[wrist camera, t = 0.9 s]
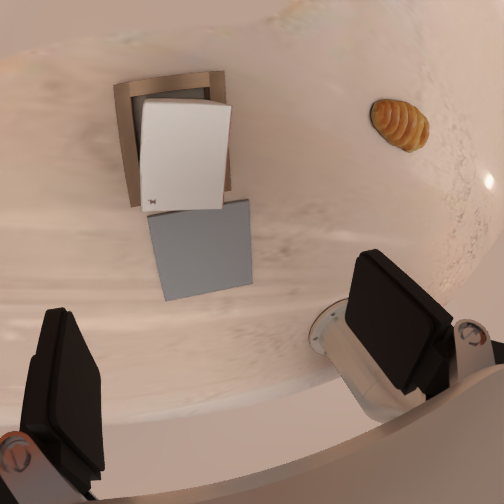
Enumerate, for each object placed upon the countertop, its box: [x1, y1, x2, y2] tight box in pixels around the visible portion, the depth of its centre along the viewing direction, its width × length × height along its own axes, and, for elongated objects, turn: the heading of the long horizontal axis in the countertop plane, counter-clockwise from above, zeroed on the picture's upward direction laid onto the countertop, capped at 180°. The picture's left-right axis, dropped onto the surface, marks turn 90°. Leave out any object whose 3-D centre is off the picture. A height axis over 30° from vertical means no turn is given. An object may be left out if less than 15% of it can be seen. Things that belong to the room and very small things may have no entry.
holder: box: [113, 71, 231, 207], centre depth 31 cm, size 11×13×4 cm
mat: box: [147, 199, 253, 301], centre depth 40 cm, size 12×12×1 cm
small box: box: [140, 98, 232, 212], centre depth 27 cm, size 8×6×13 cm
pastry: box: [371, 100, 429, 153], centre depth 38 cm, size 9×7×4 cm
